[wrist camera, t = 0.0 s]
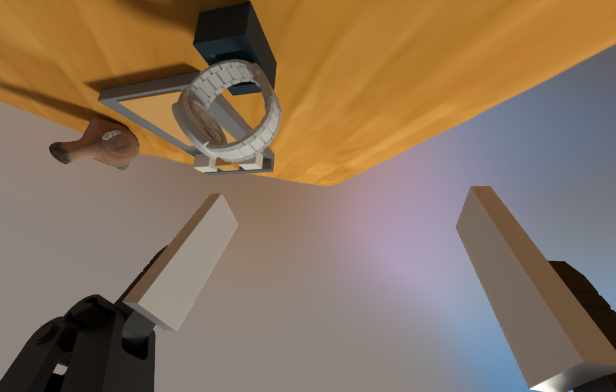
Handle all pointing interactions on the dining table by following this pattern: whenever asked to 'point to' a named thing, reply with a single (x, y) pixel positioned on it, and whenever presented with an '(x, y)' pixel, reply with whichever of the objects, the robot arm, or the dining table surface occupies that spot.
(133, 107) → the board
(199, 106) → the watch
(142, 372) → the robot arm
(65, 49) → the dining table surface
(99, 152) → the oil lamp
